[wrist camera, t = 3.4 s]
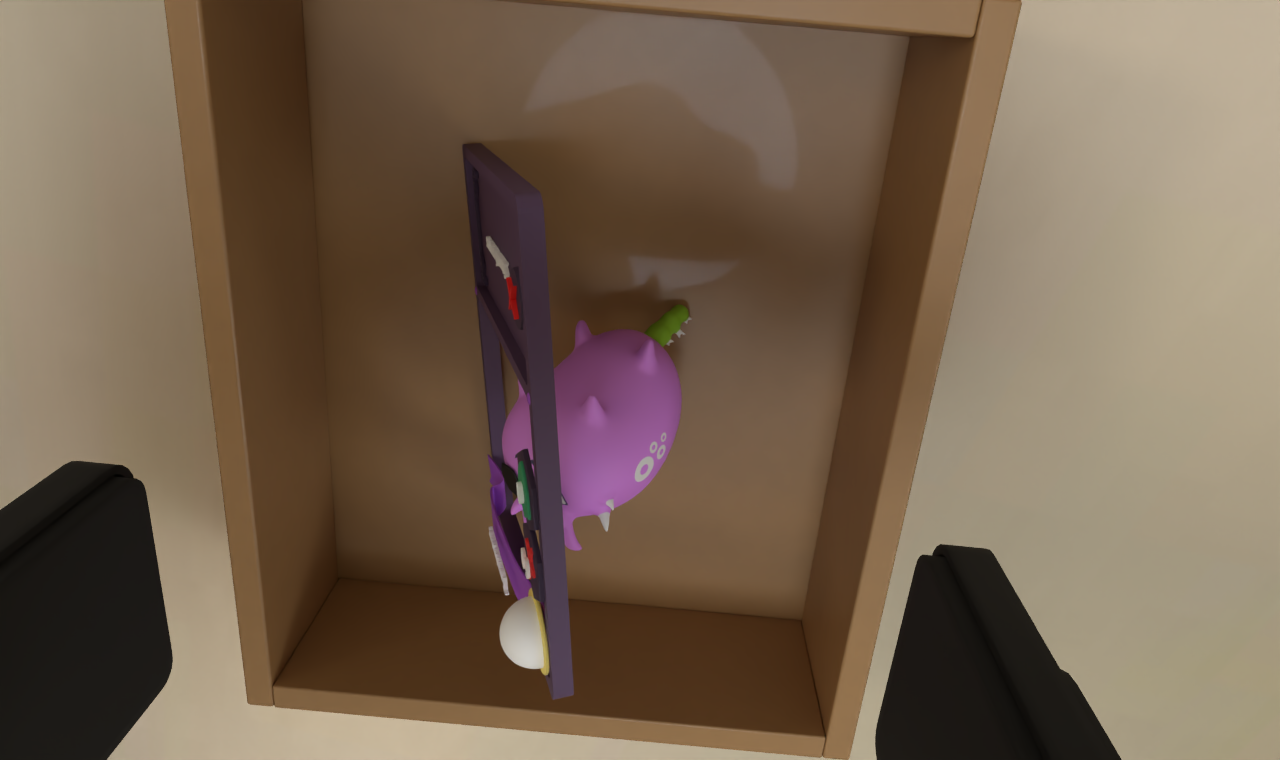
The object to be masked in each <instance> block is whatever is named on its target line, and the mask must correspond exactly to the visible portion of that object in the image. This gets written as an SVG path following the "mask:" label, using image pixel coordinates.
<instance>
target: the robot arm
mask: <svg viewBox="0 0 1280 760" xmlns="http://www.w3.org/2000/svg"><path fill="white" fill-rule="evenodd" d="M172 662H173V657H172V649H171V642H170V636H169V630H168V624H167V618H166V612H165V605H164V599H163V593H162V587H161V581H160V575H159V569H158V562H157V556H156V550H155V544H154V538H153V532H152V525H151V519H150V513H149V507H148V501H147V495H146V490H145V487H144V485H143V483H142V482H141V481H140V480H138V479H134V478H133V474H132V473H131V472H130V470H129V469H128V468H126V467H125V466H123V465H114V464H103V463H93V462H83V461H71V462H69V463H67V464H65V465H63V466H62V467H60V468H59V469H58V470H56V471H55V472H53V473H52V474H51V475H49V476H48V477H46V478H45V479H43V480H42V481H41V482H39V483H38V484H36V485H35V486H34V487H32V488H31V489H29V490H28V491H26V492H25V493H24V494H22V495H21V496H19V497H18V498H17V499H15V500H14V501H12V502H11V503H9V504H8V505H7V506H5V507H4V508H2V509H1V510H0V760H107V758H108V757H109V756H110V755H111V753H112V752H113V751H114V750H115V748H116V747H117V746H118V745H119V743H120V742H121V741H122V740H123V738H124V737H125V736H126V734H127V733H128V732H129V731H130V729H131V728H132V727H133V726H134V724H135V723H136V722H137V721H138V719H139V718H140V717H141V715H142V714H143V713H144V712H145V710H146V709H147V708H148V707H149V705H150V704H151V703H152V702H153V700H154V699H155V698H156V697H157V695H158V694H159V693H160V691H161V690H162V689H163V687H164V686H165V684H166V682H167V680H168V678H169V676H170V672H171V669H172ZM875 746H876V756H877V760H1121V758H1120V756H1119V755H1118V753H1117V751H1116V750H1115V748H1114V746H1113V744H1112V743H1111V741H1110V739H1109V738H1108V736H1107V734H1106V733H1105V731H1104V729H1103V728H1102V726H1101V724H1100V722H1099V721H1098V719H1097V717H1096V716H1095V714H1094V712H1093V711H1092V709H1091V707H1090V706H1089V704H1088V702H1087V700H1086V699H1085V697H1084V695H1083V694H1082V692H1081V690H1080V689H1079V687H1078V685H1077V684H1076V682H1075V681H1074V680H1073V679H1072V677H1071V676H1070V675H1069V673H1067V672H1065V671H1063V670H1061V669H1060V668H1059V666H1058V665H1057V663H1056V661H1055V659H1054V658H1053V656H1052V654H1051V653H1050V651H1049V649H1048V647H1047V646H1046V644H1045V642H1044V640H1043V639H1042V637H1041V635H1040V634H1039V632H1038V630H1037V628H1036V627H1035V625H1034V623H1033V621H1032V620H1031V618H1030V616H1029V615H1028V613H1027V611H1026V609H1025V608H1024V606H1023V604H1022V602H1021V601H1020V599H1019V597H1018V596H1017V594H1016V592H1015V590H1014V589H1013V587H1012V585H1011V583H1010V582H1009V580H1008V578H1007V577H1006V575H1005V573H1004V571H1003V570H1002V568H1001V566H1000V564H999V563H998V561H997V559H996V558H995V556H994V554H993V553H992V552H991V551H990V550H988V549H984V548H974V547H963V546H953V545H943V544H940V545H939V546H937V547H936V549H935V550H934V552H933V555H932V556H930V555H921V556H920V557H919V559H918V561H917V564H916V567H915V571H914V575H913V579H912V583H911V587H910V591H909V595H908V600H907V604H906V608H905V612H904V616H903V620H902V624H901V628H900V632H899V637H898V641H897V645H896V649H895V653H894V657H893V661H892V665H891V669H890V673H889V678H888V682H887V686H886V690H885V694H884V698H883V702H882V706H881V710H880V715H879V719H878V723H877V728H876V737H875Z"/></svg>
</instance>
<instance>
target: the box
mask: <svg viewBox="0 0 1280 760" xmlns="http://www.w3.org/2000/svg"><path fill="white" fill-rule="evenodd" d="M164 2H165V11H166V19H167V27H168V36H169V44H170V53H171V61H172V70H173V78H174V86H175V95H176V103H177V112H178V120H179V129H180V137H181V145H182V154H183V162H184V171H185V179H186V188H187V196H188V204H189V213H190V221H191V230H192V238H193V247H194V255H195V263H196V272H197V280H198V289H199V297H200V306H201V314H202V322H203V331H204V339H205V348H206V356H207V364H208V373H209V381H210V390H211V398H212V407H213V415H214V423H215V432H216V440H217V449H218V457H219V466H220V474H221V482H222V491H223V499H224V508H225V516H226V525H227V533H228V541H229V550H230V558H231V567H232V575H233V584H234V592H235V600H236V609H237V617H238V626H239V634H240V643H241V651H242V659H243V668H244V676H245V685H246V693H247V702H248V704H251V705H262V706H273V705H275V707H279V708H290V709H301V710H311V711H322V712H333V713H344V714H355V715H365V716H376V717H387V718H398V719H409V720H419V721H430V722H441V723H452V724H463V725H473V726H484V727H495V728H506V729H517V730H527V731H538V732H549V733H560V734H571V735H581V736H592V737H603V738H614V739H625V740H635V741H646V742H657V743H668V744H679V745H689V746H700V747H711V748H722V749H733V750H743V751H754V752H765V753H776V754H787V755H797V756H808V757H819V758H820V757H822V756H823V757H824V758H832V759H843V760H848V759H849V757H850V753H851V748H852V744H853V739H854V735H855V731H856V726H857V722H858V718H859V713H860V709H861V704H862V700H863V696H864V691H865V687H866V683H867V678H868V674H869V669H870V665H871V661H872V656H873V652H874V648H875V643H876V639H877V634H878V630H879V626H880V621H881V617H882V613H883V608H884V604H885V599H886V595H887V591H888V586H889V582H890V578H891V573H892V569H893V565H894V560H895V556H896V551H897V547H898V543H899V538H900V534H901V530H902V525H903V521H904V516H905V512H906V508H907V503H908V499H909V495H910V490H911V486H912V481H913V477H914V473H915V468H916V464H917V460H918V455H919V451H920V446H921V442H922V438H923V433H924V429H925V425H926V420H927V416H928V411H929V407H930V403H931V398H932V394H933V390H934V385H935V381H936V376H937V372H938V368H939V363H940V359H941V355H942V350H943V346H944V341H945V337H946V333H947V328H948V324H949V320H950V315H951V311H952V306H953V302H954V298H955V293H956V289H957V285H958V280H959V276H960V271H961V267H962V263H963V258H964V254H965V250H966V245H967V241H968V236H969V232H970V228H971V223H972V219H973V215H974V210H975V206H976V201H977V197H978V193H979V188H980V184H981V180H982V175H983V171H984V166H985V162H986V158H987V153H988V149H989V145H990V140H991V136H992V131H993V127H994V123H995V118H996V114H997V110H998V105H999V101H1000V96H1001V92H1002V88H1003V83H1004V79H1005V75H1006V70H1007V66H1008V61H1009V57H1010V53H1011V48H1012V44H1013V40H1014V35H1015V31H1016V26H1017V22H1018V18H1019V13H1020V9H1021V5H1022V2H1021V0H164ZM473 143H482V144H483V145H484V146H485V147H486V148H488V149H489V150H490V151H491V152H492V153H494V154H495V155H496V156H497V157H499V158H500V159H501V160H502V161H503V162H505V163H506V164H507V165H508V166H509V167H511V168H512V169H513V170H514V171H515V172H517V173H518V174H519V175H520V176H522V177H523V178H524V179H525V180H526V181H528V182H529V183H530V184H531V185H532V186H534V187H535V188H536V189H537V190H539V191H540V193H541V196H542V201H543V208H544V222H545V238H546V254H547V270H548V286H549V302H550V318H551V334H552V350H553V366H554V368H556V367H557V366H558V365H559V364H560V363H561V362H562V361H563V360H564V359H565V358H567V357H568V356H569V355H570V354H571V353H572V352H573V350H574V348H575V330H576V325H577V323H578V322H579V321H580V320H583V321H585V322H586V324H587V326H588V328H589V330H590V332H591V334H592V335H599V334H601V333H604V332H608V331H612V330H617V329H630V330H636V331H639V332H642V333H644V332H645V331H646V330H647V329H648V328H649V327H650V326H651V325H652V324H653V323H655V322H657V321H658V320H659V319H660V318H661V317H662V316H663V314H665V313H666V312H668V311H670V310H671V309H672V308H673V307H674V306H675V305H678V304H680V305H683V306H685V307H686V308H687V309H688V312H689V317H690V318H692V320H688V322H687V324H686V323H685V322H683V323H682V324H681V326H680V330H681V331H682V332H683V333H685V335H683V334H681V335H680V338H679V337H678V336H677V334H675V333H674V334H672V336H671V340H673V341H674V342H672V343H670V346H668V345H664V347H663V348H664V349H665V350H666V352H667V353H668V354H669V356H670V358H671V359H672V361H673V363H674V365H675V367H676V370H677V373H678V376H679V380H680V385H681V394H682V405H681V415H680V420H679V425H678V429H677V432H676V436H675V439H674V442H673V444H672V447H671V449H670V451H669V454H668V456H667V458H666V460H665V462H664V463H663V465H662V467H661V468H660V470H659V471H658V473H657V474H656V476H655V477H654V478H653V479H652V481H651V482H650V483H649V484H648V485H647V486H646V487H645V488H644V489H643V490H642V491H641V492H640V493H639V494H637V495H636V496H635V497H633V498H632V499H631V500H629V501H627V502H626V503H624V504H622V505H620V506H618V507H616V508H614V510H612V509H611V512H610V517H609V527H608V531H605V529H604V527H603V525H602V523H601V520H600V518H599V517H598V516H596V515H589V516H581V517H577V518H575V519H574V521H573V529H574V533H575V536H576V538H577V540H578V542H579V544H580V545H581V547H582V549H581V550H579V551H574V550H570V549H569V548H567V547H566V546H565V557H566V573H567V589H568V605H569V621H570V637H571V653H572V669H573V685H574V695H572V696H568V697H564V698H559V699H555V700H553V699H552V697H551V694H550V691H549V687H548V684H547V681H546V677H545V675H544V674H543V673H542V672H541V669H529V668H524V667H521V666H519V665H517V664H516V663H514V662H513V661H512V660H510V659H509V658H508V656H507V655H506V654H505V652H504V650H503V648H502V646H501V642H500V635H499V632H500V625H501V621H502V619H503V616H504V615H505V613H506V611H507V610H508V609H509V608H510V607H511V606H512V605H513V604H514V603H515V602H517V601H518V599H517V597H516V594H515V592H514V590H513V587H512V584H511V582H510V579H509V576H508V574H507V571H506V569H505V572H506V576H507V582H508V591H509V595H505V593H504V589H503V582H502V580H501V576H500V572H499V569H498V566H497V562H496V558H495V554H494V551H493V548H492V542H491V540H490V536H489V527H490V526H493V518H492V508H491V498H490V489H491V487H492V486H493V485H492V484H491V483H490V478H491V472H490V466H489V460H488V455H490V457H491V458H492V455H491V445H490V434H489V424H488V413H487V403H486V392H485V382H484V371H483V361H482V351H481V340H480V330H479V319H478V309H477V298H476V293H475V277H474V267H473V257H472V246H471V236H470V225H469V215H468V204H467V194H466V184H465V173H464V163H463V152H462V145H463V144H473ZM499 346H500V357H501V369H502V380H503V392H504V403H505V414H506V420H507V417H508V415H509V413H510V411H511V410H512V408H513V407H514V405H515V403H516V402H517V400H518V398H519V385H518V378H517V376H516V374H515V372H514V370H513V368H512V366H511V363H510V361H509V359H508V357H507V355H506V353H505V351H504V349H503V347H502V345H501V343H500V341H499ZM512 495H513V503H514V501H515V500H516V498H517V496H516V495H515V494H514V493H513V492H512ZM516 516H517V519H518V522H519V525H520V528H521V531H522V534H523V537H524V532H523V523H524V521H523V513H522V511H520V512H518V513H516ZM493 530H494V528H493ZM536 535H537V540H538V544H539V549H540V543H539V530H536ZM503 565H504V564H503ZM504 568H505V566H504Z"/></svg>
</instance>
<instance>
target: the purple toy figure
mask: <svg viewBox="0 0 1280 760" xmlns="http://www.w3.org/2000/svg"><path fill="white" fill-rule="evenodd" d="M462 152H463V163H464V173H465V184H466V194H467V204H468V215H469V225H470V236H471V246H472V257H473V267H474V277H475V293H476V298H477V309H478V319H479V330H480V340H481V351H482V361H483V371H484V382H485V392H486V403H487V413H488V424H489V434H490V445H491V455H492V458H491V457H490V455H488V460H489V466H490V472H491V478H490V483H491V484H492V485H493V486H492V487H491V489H490V498H491V508H492V518H493V526H490V527H489V536H490V540H491V542H492V548H493V551H494V554H495V558H496V562H497V566H498V569H499V572H500V576H501V580H502V582H503V589H504V593H505V595H509V591H508V582H507V576H506V572H505V569H506V571H507V574H508V576H509V579H510V582H511V584H512V587H513V590H514V592H515V594H516V597H517V599H518V601H517V602H515V603H514V604H513V605H512V606H511V607H510V608H509V609H508V610H507V611H506V613H505V615H504V616H503V619H502V621H501V625H500V632H499V635H500V642H501V646H502V648H503V650H504V652H505V654H506V655H507V656H508V658H509V659H510V660H512V661H513V662H514V663H516V664H517V665H519V666H521V667H524V668H529V669H541V672H542V673H543V674H544V675H545V677H546V681H547V684H548V687H549V691H550V694H551V697H552V699H553V700H555V699H559V698H564V697H568V696H572V695H574V685H573V669H572V653H571V637H570V621H569V605H568V589H567V573H566V557H565V546H566V547H567V548H569V549H570V550H574V551H579V550H581V549H582V547H581V545H580V544H579V542H578V540H577V538H576V536H575V533H574V529H573V521H574V519H575V518H577V517H581V516H589V515H596V516H598V517H599V518H600V520H601V523H602V525H603V527H604V529H605V531H608V527H609V517H610V512H611V509H612V510H614V508H616V507H618V506H620V505H622V504H624V503H626V502H627V501H629V500H631V499H632V498H633V497H635V496H636V495H637V494H639V493H640V492H641V491H642V490H643V489H644V488H645V487H646V486H647V485H648V484H649V483H650V482H651V481H652V479H653V478H654V477H655V476H656V474H657V473H658V471H659V470H660V468H661V467H662V465H663V463H664V462H665V460H666V458H667V456H668V454H669V451H670V449H671V447H672V444H673V442H674V439H675V436H676V432H677V429H678V425H679V420H680V415H681V405H682V394H681V385H680V380H679V376H678V373H677V370H676V367H675V365H674V363H673V361H672V359H671V358H670V356H669V354H668V353H667V352H666V350H665V349H664V348H663V347H664V345H668V346H670V343H672V342H674V341H673V340H671V336H672V334H674V333H675V334H677V336H678V337H679V338H680V335H681V334H683V335H685V333H683V332H682V331H681V330H680V326H681V324H682V323H683V322H685V323H686V324H687V322H688V320H692V318H690V317H689V312H688V309H687V308H686V307H685V306H683V305H680V304H678V305H675V306H674V307H673V308H672V309H671V310H670V311H668V312H666V313H665V314H663V316H662V317H661V318H660V319H659V320H658V321H657V322H655V323H653V324H652V325H651V326H650V327H649V328H648V329H647V330H646V331H645V332H644V333H642V332H639V331H636V330H630V329H617V330H612V331H608V332H604V333H601V334H599V335H592V334H591V332H590V330H589V328H588V326H587V324H586V322H585V321H583V320H580V321H579V322H578V323H577V325H576V330H575V348H574V350H573V352H572V353H571V354H570V355H569V356H568V357H567V358H565V359H564V360H563V361H562V362H561V363H560V364H559V365H558V366H557V367H556V368H554V366H553V350H552V334H551V318H550V302H549V286H548V270H547V254H546V238H545V222H544V208H543V201H542V196H541V193H540V191H539V190H537V189H536V188H535V187H534V186H532V185H531V184H530V183H529V182H528V181H526V180H525V179H524V178H523V177H522V176H520V175H519V174H518V173H517V172H515V171H514V170H513V169H512V168H511V167H509V166H508V165H507V164H506V163H505V162H503V161H502V160H501V159H500V158H499V157H497V156H496V155H495V154H494V153H492V152H491V151H490V150H489V149H488V148H486V147H485V146H484V145H483V144H482V143H473V144H463V145H462ZM499 341H500V343H501V345H502V347H503V349H504V351H505V353H506V355H507V357H508V359H509V361H510V363H511V366H512V368H513V370H514V372H515V374H516V376H517V378H518V385H519V398H518V400H517V402H516V403H515V405H514V407H513V408H512V410H511V411H510V413H509V415H508V417H507V420H506V414H505V403H504V392H503V380H502V369H501V357H500V346H499ZM512 492H513V493H514V494H515V495H516V496H517V498H516V500H515V501H514V503H513V495H512ZM520 511H522V513H523V521H524V523H523V532H524V537H523V534H522V531H521V528H520V525H519V522H518V519H517V516H516V513H518V512H520ZM493 528H494V530H493ZM536 530H539V543H540V549H539V544H538V540H537V535H536ZM503 564H504V565H503ZM504 566H505V568H504Z"/></svg>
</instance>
